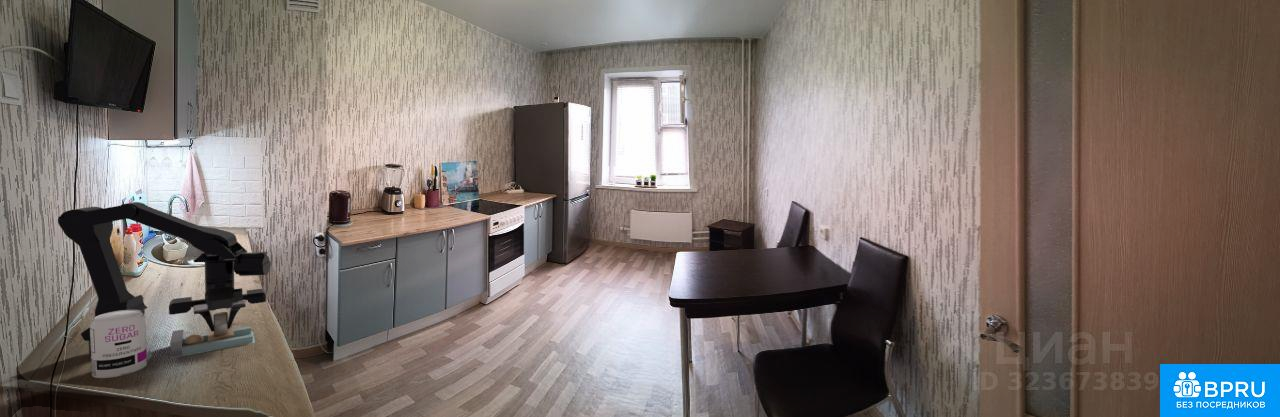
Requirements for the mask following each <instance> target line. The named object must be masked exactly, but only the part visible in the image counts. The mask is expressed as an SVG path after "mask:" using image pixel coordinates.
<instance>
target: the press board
mask: <svg viewBox="0 0 1280 417" xmlns="http://www.w3.org/2000/svg"><path fill="white" fill-rule="evenodd" d="M232 329H233V333H234V338H229V339H223V340H217V341H211V342H208V333H209V332H207V333H201V334H199V335H201V336H202V337H203V342H202V343H200V344H194V345H188V346H185V344H184V346H182V355H181V356H175V357H171V356H170V359H174V358H179V357H184V356H190V355H195V354H196V355H197V354H200V353H206V352H211V351H218V350H223V349H229V348H234V347H240V346H246V345H249V344H255V343H256V340H255V336H254V335H255V334H254V331H253V330H252V326H251V325H250V326H245V327H244V326H243V327H238V328H232ZM187 337H188V336H184V341H185V339H186V338H187Z"/></svg>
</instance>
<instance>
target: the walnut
mask: <svg viewBox="0 0 1280 417" xmlns="http://www.w3.org/2000/svg"><path fill="white" fill-rule="evenodd" d="M186 337H187V338H186V339H185V341H184V344H185V346H188V345H194V344H200V343H202V342H203V337H202V336H201V335H200V334H199V333H194V334H190V335H188V336H186Z"/></svg>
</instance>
